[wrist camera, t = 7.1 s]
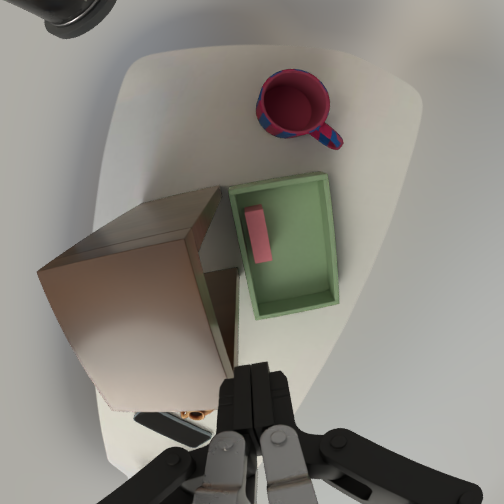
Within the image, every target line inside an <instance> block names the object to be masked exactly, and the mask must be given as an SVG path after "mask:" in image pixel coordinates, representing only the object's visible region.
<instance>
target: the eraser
mask: <svg viewBox="0 0 504 504" xmlns="http://www.w3.org/2000/svg"><path fill="white" fill-rule="evenodd" d="M244 209H245V217H246V222H247V227H248V232H249V236H250V241H251V246H252V251H253V255H254V260H255V264H257V263H262V262H267V261H272V260H273V259H272V254H271V249H270V243H269V238H268V233H267V227H266V222H265V217H264V212H263V208H262V205H261V204H259V205H254V206H249V207H245V208H244Z"/></svg>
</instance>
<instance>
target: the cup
mask: <svg viewBox="0 0 504 504" xmlns="http://www.w3.org/2000/svg"><path fill="white" fill-rule="evenodd" d="M329 110H330V100H329V95H328V92H327V90H326V88H325V86H324V85H323V84H322V82H321V81H320V80H319V79H318V78H316V77H315V76H314V75H312V74H310V73H308V72H306V71H303V70H298V69H286V70H282V71H279V72H277V73H275V74H273V75H272V76H270V77H269V78H268V79H267V80H266V82H265V83H264V84H263V86H262V89H261V91H260V95H259V98H258V101H257V105H256V115H257V118H258V121H259V123H260V125H261V126H262V127H263V128H264V129H265V130H266V131H267V132H268V133H270V134H271V135H274V136H276V137H280V138H293V137H297V136H301V135H305V134H310V135H311V136H313V137H314V138H315V139H317V140H318V141H319V142H321V143H322V144H324V145H325V146H327V147H329V148H331V149H334V150H338V149H340V148H341V147H342V145H343V139H342V138H341V136H340V135H339V134H338V133H337V132H336V131H335V130H334V129H333V128H331V127H330V126H329V125H328V124H326V123H325V120H326V118H327V116H328V114H329Z"/></svg>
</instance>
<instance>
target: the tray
mask: <svg viewBox="0 0 504 504" xmlns="http://www.w3.org/2000/svg"><path fill="white" fill-rule="evenodd" d="M228 193H229V198H230V203H231V208H232V213H233V217H234V222H235V227H236V232H237V237H238V241H239V246H240V251H241V255H242V260H243V265H244V270H245V274H246V279H247V284H248V288H249V293H250V297H251V302H252V307H253V311H254V316H255V320H261V319H267V318H272V317H278V316H283V315H288V314H293V313H298V312H303V311H308V310H313V309H318V308H323V307H327V306H332V305H336V304H339V285H338V269H337V256H336V244H335V233H334V223H333V213H332V205H331V196H330V188H329V181H328V174H327V173H323V172H320V171H318V172H311V173H304V174H298V175H291V176H285V177H279V178H273V179H268V180H262V181H256V182H251V183H246V184H240V185H235V186H230V187H229V190H228ZM259 204H261V205H262V208H263V212H264V217H265V222H266V227H267V233H268V238H269V243H270V249H271V254H272V259H273V260H272V261H267V262H262V263H257V264H255V260H254V255H253V251H252V246H251V241H250V236H249V232H248V227H247V222H246V217H245V209H244V208H245V207H249V206H254V205H259Z"/></svg>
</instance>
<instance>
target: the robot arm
mask: <svg viewBox="0 0 504 504" xmlns="http://www.w3.org/2000/svg"><path fill="white" fill-rule="evenodd" d="M4 1H7V2H9V3H11V4H13V5H16V6H18V7H20V8H22V9H24V10H26V11H28V12H31V13H33V14H35V15H37V16H39V17H41V18H43V19H44V20H46V21H48V22H50V23H51V24H53V25H54V26H57V27H67V26H70V25H73V24H75V23H77V22H78V21H80V20H82V19H83V18H84V17H86V16H87V15H88V14H89V13H90V12H91V11H92V10H93V9H94V8H95V7H96V6H97V4H98V3H99V1H100V0H4ZM218 405H219V406H218V415H217V430H216V435H215V436H214V437H213V438H212V440H211V441H210V443H209V444H208V445H206V446H204V447H202V448H199V449H196V450H192V451H189V452H188V451H187V450H185V449H184V448H181V447H171V448H168V449H166V450H164V451H163V452H162V453H161V454H159V455H158V456H157V457H156V458H155V459H153V460H152V461H151V462H150V463H149V464H147V465H146V466H145V467H144V468H143V469H141V470H140V471H139V472H138V473H136V474H135V475H134V476H133V477H131V478H130V479H129V480H128V481H126V482H125V483H124V484H123V485H121V486H120V487H119V488H117V489H116V490H115V491H113V492H112V493H111V494H109V495H108V496H107V497H105V498H104V499H103V500H101V501H100V502H98V503H97V504H257V479H258V469H257V456H261V455H262V456H263V462H264V468H265V474H266V479H267V494H268V500H269V504H318V501H317V498H316V495H315V491H314V488H313V484H312V481H311V479H322V480H323V481H325V482H326V483H328V484H329V485H331V486H332V487H334V488H336V489H337V490H339V491H341V492H342V493H344V494H346V495H348V496H349V497H351V498H353V499H355V500H356V501H358V502H360V503H362V504H481V503H482V500H483V493H482V490H481V488H480V487H479V486H478V485H476V484H474V483H471V482H468V481H465V480H462V479H459V478H456V477H453V476H450V475H447V474H445V473H442V472H439V471H437V470H434V469H432V468H429V467H427V466H424V465H422V464H419V463H417V462H415V461H412V460H410V459H408V458H406V457H403V456H401V455H399V454H397V453H395V452H392V451H390V450H388V449H386V448H384V447H382V446H380V445H378V444H376V443H374V442H372V441H370V440H368V439H366V438H364V437H362V436H360V435H358V434H356V433H354V432H352V431H350V430H348V429H344V428H337V429H333V430H330V431H328V432H327V433H326V434H324V435H314V434H308V433H305V432H303V431H301V430H300V429H299V428H298V427H297V426H296V424H295V420H294V414H293V409H292V403H291V398H290V392H289V387H288V381H287V377H286V376H285V375H284V374H283V373H282V371H276V372H270V371H269V366H268V362H261V363H255V364H251V365H250V364H249V365H242V366H235V367H234V378H229V379H224V381H223V382H222V384H221V386H220V388H219V400H218Z"/></svg>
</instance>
